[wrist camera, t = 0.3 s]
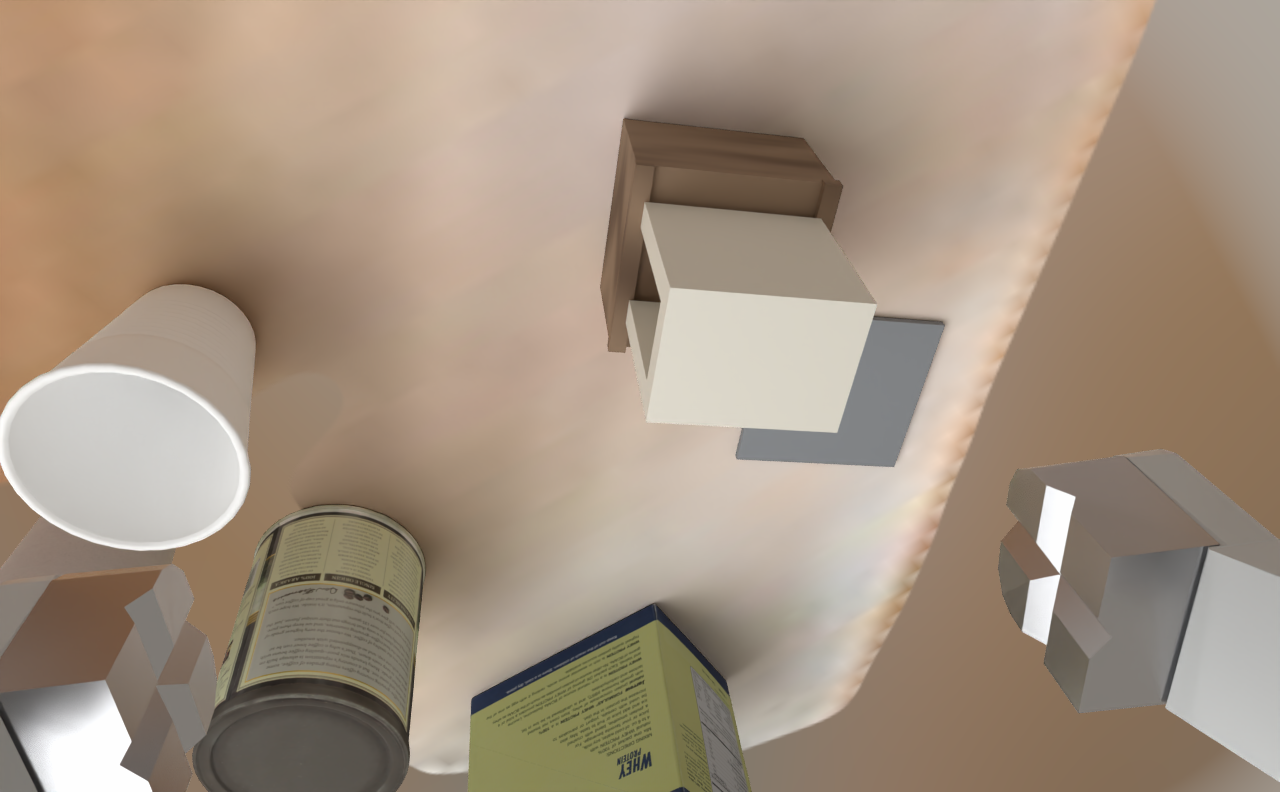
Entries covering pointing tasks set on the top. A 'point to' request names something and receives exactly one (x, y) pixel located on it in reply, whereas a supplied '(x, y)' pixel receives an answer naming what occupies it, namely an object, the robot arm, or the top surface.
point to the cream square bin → (747, 321)
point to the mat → (863, 403)
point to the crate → (699, 195)
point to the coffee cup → (71, 555)
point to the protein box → (610, 719)
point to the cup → (140, 425)
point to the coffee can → (319, 660)
